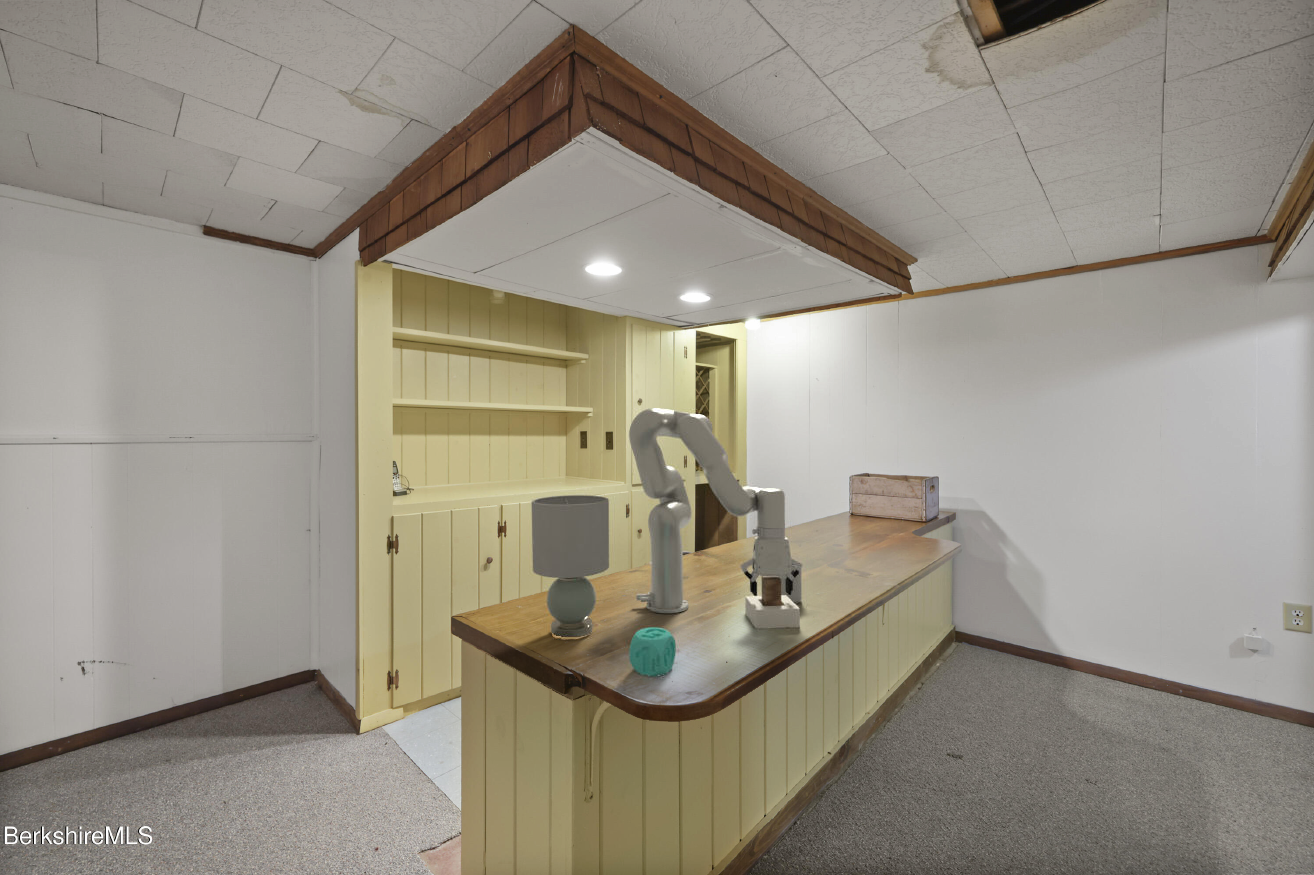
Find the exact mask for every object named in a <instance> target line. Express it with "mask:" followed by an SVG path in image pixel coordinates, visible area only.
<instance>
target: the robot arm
mask: <svg viewBox="0 0 1314 875" xmlns="http://www.w3.org/2000/svg"><path fill="white" fill-rule="evenodd" d="M628 435H629V436H628V437H629V444H630V447H631V451H632V454H633V457H634V461H635V463H636V468H637V472H638V475H639V479H640V482H641V486H642V490H643V492H644V494H645V495H646V496H647V497H648V498H650V499H653V500H658V501H659V503H657V504H656V505H655V506H654V507H653V508H652V509H651V510H650V512H649V515H648V519H647V521H648V522H647V524H648V532H649V537H650V539H649V541H650V558H651V559H650V560H651V561H650V565H651V566H650V567H651V568H650V569H651V574H650V575H651V583H650V585H651V586H650V587H651V589H649V592H646V593H636V595H635V596H636V598H635V599H636V601H640V602H641V603H646V608H647V610H649V611H650V612H653V613H657V614H658V613H659V614H677V613H682V612H684V611H686V610H687V609H688V608H689V602H688V601H687V600H685V599H684V575H683V574H684V572H683V571H684V562H683V557H684V556H683V555H684V554H683V552H684V550H683V549H684V547H683V540H682V539H683V538H682V535H681V529H684V528H685V527H686V526H688V524H689V523H690V522H691V519H692V508H691V504H690V500H689V497H688V494H687V490H686V487H685V483H684V480H683V478H682V476H681V473H680V472H679V471H678V470H677V469H676V468H675V467H673V466H671V465H670V466H669V465H667V464H666V461H665V458H664V455H663V451H662V449H661V447H660V445H659V443H658V441H657V438H658V437H669V438H675V439H679V440H680V439H681V441H682V443H683V444H684V446H685V447H686V448H687V449H688V451H689V452H690V453H691V455H692V457H693V459H695V460H696V462H697V463H698V465H699V466H700V468H701V469H702V471H703V473H704V476H705V478H706V480H707V483H708V485H709V487H710V489H711V491H712V492H713V494H714V496H715V497H716V499H717V500H718V501H719V502H720V504H721V505H722V506H723V507H724V509H725V510H726V511H727V512H728V513H729V514H731V515H732V516H735V517H738V518H739V517H740V518H741V517H744V516H747V515H748V514H750V513H754V512H756V513H757V514H756V515H757V516H756V517H757V522H756V523H757V525H756V528H755V529H754V528H752V529H751V532H752V535H756V537H755V538H754V543H753V549H752V557H751V558H750V559H748V560H746V561H745V562H743V563H741V564H740V568H741V570H742V572H743V574H744V575H745V577H746V578H748V579H749V592H750V593H751V594H752V596H758V582H757V579H758V578H759V577H760V576H761V577H762V576H772V575H786V576H787V578H786V579H785V590H786V593H787V594H788V595H791V591H793V580H794V578H795V577H796V576H797V575H798V574H799V571H800V569H801V570H802V567H803V564H802V563H801V562H800V561H798V560H796V559H793V558H792V556H791V548H790V542H789V538H788V537H786V519H785V518H786V514H785V512H786V510H785V509H786V508H785V507H786V502H785V499H786V497H785V495H786V494H785V492H784V491H783V489H781V488H773V487H770V488H767V487H766V488H759V487H752V486H749V485H747V486H742V485H741V484H740V483H739V481H738V480H737V479H736V477H735V475H734V474H733V472H732V470H731V468H730V465H729V457H728V451H726V449H725V448H724V446H723V445H722V444H721V442H720V441H719V440H718V439H717V437H716V436H715V435H714V433H713V424H712V421H710V419H709V418H708V417H707V416H705V415H703V414H701V413H700V414H698V413H697V414H696V413H691V412H683V411H677V410H673V409H672V410H671V409H666V408H655V407H653V408H648V409H647V408H646V409H644V410H642V411H640V412H639V413H638V414H637V415H635V417H634V418H633V420H632V421H631V424H630V427H629V431H628ZM791 564H793V565H795V569H794V570H793V571H792V572H791ZM751 566H752V572H749V570H748V568H749V567H751Z"/></svg>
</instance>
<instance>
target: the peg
mask: <svg viewBox="0 0 1314 875" xmlns="http://www.w3.org/2000/svg"><path fill="white" fill-rule="evenodd" d="M761 596H762V605H763V606H781V579H780V578H779V577H778V576H777V575H772V576H761Z"/></svg>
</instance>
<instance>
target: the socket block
mask: <svg viewBox="0 0 1314 875" xmlns="http://www.w3.org/2000/svg"><path fill="white" fill-rule="evenodd" d="M744 598H745V606H744V607H745V615H746V617H747V618H748V619H749V621H750V622H751V624H752V625H753V626H754V628H755V629H785V628H786V627H789V628H800V627H801V621H800V619H801V618H800V617H801V614H800V612H801V609H800V607H799V606H798V605H797V604H794V603H793V602H792V601H791V600H790V599H789V598H788V597H787V596H786V595H781V606H763V605H762V595H757V596H754V595H751V596H749V595H748V596H745V597H744Z"/></svg>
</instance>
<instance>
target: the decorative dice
mask: <svg viewBox="0 0 1314 875" xmlns="http://www.w3.org/2000/svg"><path fill="white" fill-rule="evenodd" d="M676 648H677V645H676V641H675V637H674V636H673V634H671V632H670V631H669V630H668V629H665V628H662V627H645V628H641V629H639V630H638V631H636V632H635V633H634V635H633V636H632V639H631V641H630V646H629V651H628V654H629V655H628V656H629V663H630V665H631V666H632V668H633V670H634V671H635V672H636V673H638V674H639V673H640V674H639V675H641V674H643V675H642V676H644V675H649V676H648V677H651V676H655V677H659V676H658V675H661V676H664V675H666V674H668V673H669V672H670V671H671V670H672V668H673V666H674V663H675V658H676V650H677V649H676ZM663 674H664V675H663Z"/></svg>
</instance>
